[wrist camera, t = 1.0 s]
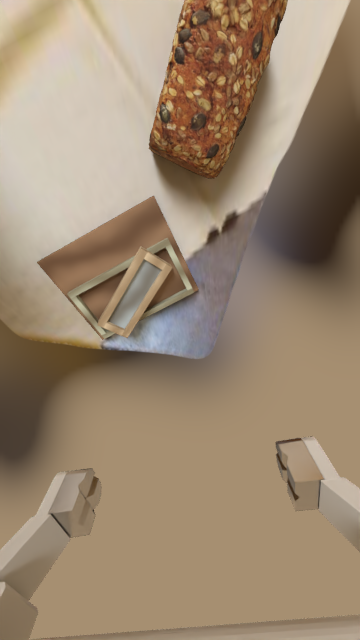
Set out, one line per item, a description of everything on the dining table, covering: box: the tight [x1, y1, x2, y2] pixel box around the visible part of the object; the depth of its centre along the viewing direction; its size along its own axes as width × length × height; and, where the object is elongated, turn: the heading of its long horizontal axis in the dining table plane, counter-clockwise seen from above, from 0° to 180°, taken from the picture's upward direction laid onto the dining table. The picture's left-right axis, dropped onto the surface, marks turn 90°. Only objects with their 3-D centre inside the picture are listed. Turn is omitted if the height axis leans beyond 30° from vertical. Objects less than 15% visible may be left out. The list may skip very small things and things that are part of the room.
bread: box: [149, 0, 288, 179], centre depth 28 cm, size 19×11×10 cm, turn 158°
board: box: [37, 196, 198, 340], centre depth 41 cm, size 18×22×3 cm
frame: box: [97, 246, 172, 338], centre depth 40 cm, size 6×16×2 cm, turn 146°
